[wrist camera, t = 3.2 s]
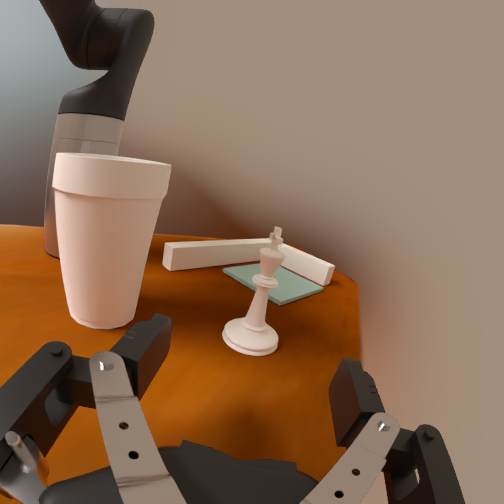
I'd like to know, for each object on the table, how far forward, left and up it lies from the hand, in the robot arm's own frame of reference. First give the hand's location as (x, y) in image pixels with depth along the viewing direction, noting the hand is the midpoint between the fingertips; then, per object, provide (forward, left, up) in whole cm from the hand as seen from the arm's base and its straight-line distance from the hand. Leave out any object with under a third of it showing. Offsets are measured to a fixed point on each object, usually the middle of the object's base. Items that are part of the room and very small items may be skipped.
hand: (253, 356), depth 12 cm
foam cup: (-16, -2, -6) cm, 17 cm away
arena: (-17, +20, -6) cm, 27 cm away
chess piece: (-7, +8, -6) cm, 12 cm away
